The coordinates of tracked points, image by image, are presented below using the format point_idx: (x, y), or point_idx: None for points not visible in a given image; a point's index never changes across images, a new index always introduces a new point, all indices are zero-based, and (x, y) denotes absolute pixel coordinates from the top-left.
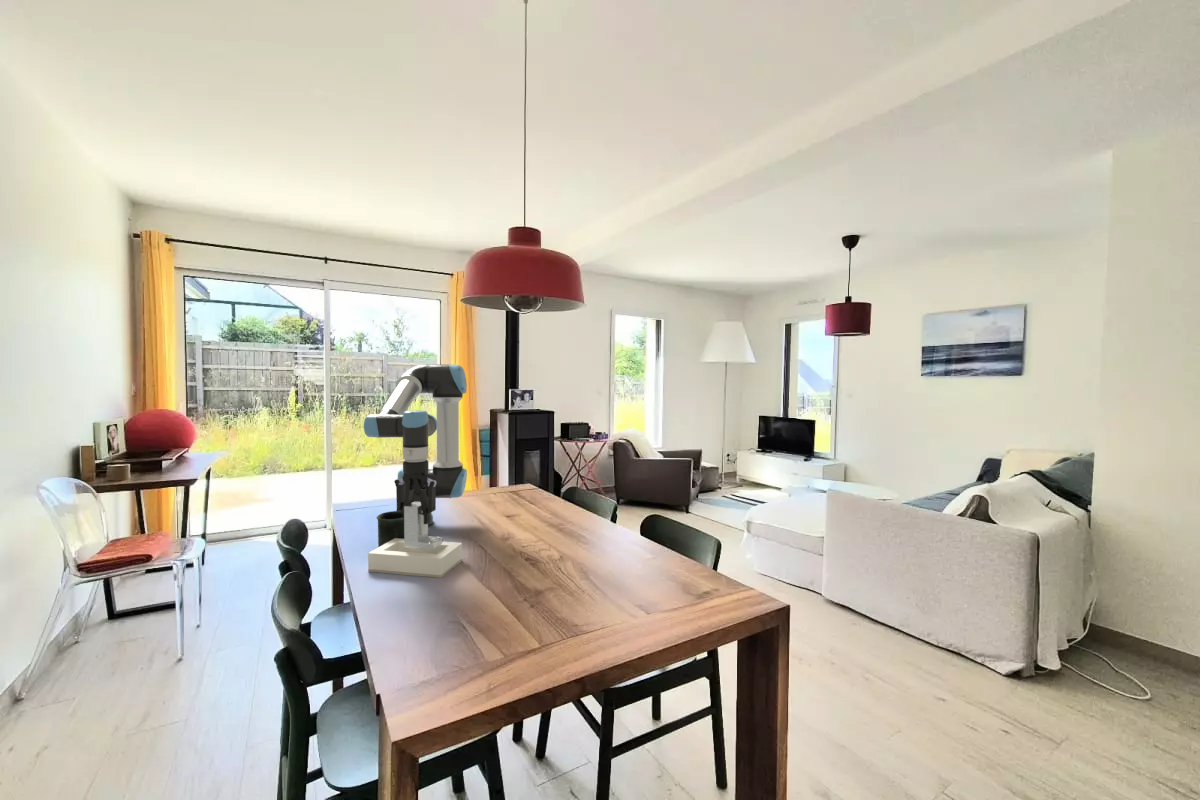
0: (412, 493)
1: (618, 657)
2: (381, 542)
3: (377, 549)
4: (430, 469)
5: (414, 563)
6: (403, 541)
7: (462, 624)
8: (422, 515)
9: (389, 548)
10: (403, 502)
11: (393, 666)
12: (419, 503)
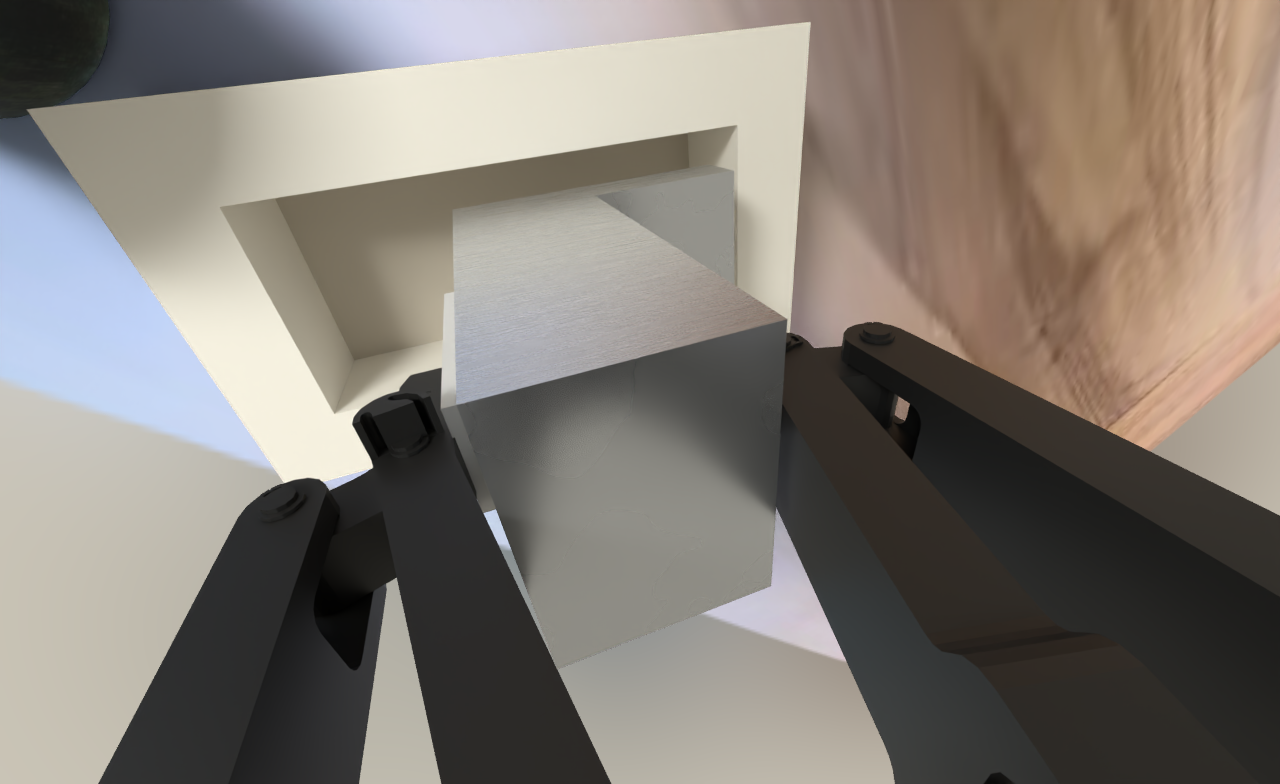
0: (589, 747)
1: (1157, 441)
2: None
3: (272, 422)
4: None
5: None
6: (267, 177)
7: None
8: None
9: (296, 332)
10: (308, 598)
11: (829, 631)
12: (684, 461)
